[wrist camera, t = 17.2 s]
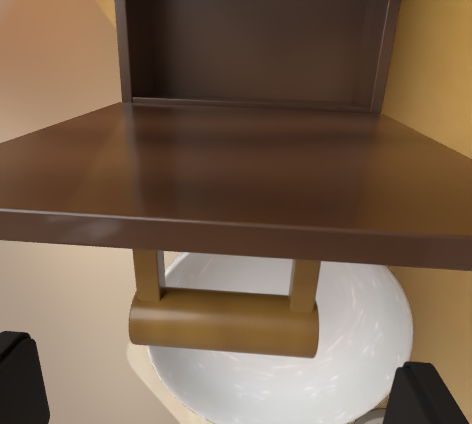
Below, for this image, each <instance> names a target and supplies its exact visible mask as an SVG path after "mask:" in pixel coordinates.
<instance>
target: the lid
mask: <svg viewBox="0 0 472 424" xmlns="http://www.w3.org/2000/svg"><path fill="white" fill-rule="evenodd" d="M0 240H8V241H23V242H37V243H52V244H68V245H83V246H99V247H113V248H128V249H132V250H133V259H134V269H135V278H136V287H137V291H136V293H135V295H134V298H133V301H132V305H131V309H130V315H129V337H130V340H131V342H132V343H133V344H135V345H148V346H160V347H173V348H186V349H198V350H211V351H223V352H236V353H248V354H261V355H273V356H286V357H298V358H311V359H312V358H315V356H316V353H317V349H318V342H319V313H318V306H317V302H316V299H315V298H316V292H317V286H318V279H319V273H320V267H321V261H326V262H341V263H356V264H371V265H386V266H402V267H417V268H432V269H447V270H463V271H472V159H470V158H468V157H466V156H464V155H462V154H460V153H458V152H456V151H454V150H452V149H450V148H449V147H447V146H445V145H443V144H441V143H439V142H437V141H435V140H433V139H431V138H429V137H427V136H425V135H423V134H421V133H419V132H417V131H415V130H413V129H411V128H409V127H407V126H406V125H404V124H402V123H400V122H398V121H396V120H394V119H392V118H390V117H388V116H386V115H384V114H376V113H353V112H330V111H308V110H285V109H262V108H240V107H217V106H194V105H172V104H149V103H126V102H119V103H116V104H113V105H110V106H107V107H104V108H101V109H99V110H96V111H93V112H90V113H87V114H84V115H81V116H78V117H75V118H72V119H70V120H67V121H64V122H61V123H58V124H55V125H52V126H49V127H46V128H43V129H41V130H38V131H35V132H32V133H29V134H26V135H24V136H20V137H17V138H15V139H12V140H9V141H6V142H3V143H0ZM163 251H174V252H189V253H204V254H219V255H234V256H250V257H265V258H280V259H293V261H292V269H291V278H290V286H289V295H277V294H263V293H249V292H235V291H221V290H207V289H193V288H179V287H166V284H165V269H164V252H163Z"/></svg>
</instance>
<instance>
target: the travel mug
mask: <svg viewBox="0 0 472 424" xmlns="http://www.w3.org/2000/svg"><path fill="white" fill-rule="evenodd" d="M385 411H386V409H376V410H372V411H369V412H367V413H366V414H364V415H363V416H361V417H359V418H358V419H357V420H356V421H355V423H354V424H382V423H383V419H384V415H385Z"/></svg>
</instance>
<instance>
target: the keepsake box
mask: <svg viewBox="0 0 472 424" xmlns="http://www.w3.org/2000/svg"><path fill="white" fill-rule="evenodd" d="M400 3H401V0H115V13H116V26H117V39H118V51H119V66H120V78H121V92H122V102H126V103H149V104H172V105H194V106H217V107H240V108H262V109H285V110H308V111H330V112H353V113H376V114H381V109H382V103H383V98H384V92H385V87H386V81H387V75H388V70H389V64H390V59H391V53H392V48H393V42H394V36H395V31H396V25H397V20H398V14H399V8H400Z"/></svg>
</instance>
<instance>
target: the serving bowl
mask: <svg viewBox="0 0 472 424" xmlns="http://www.w3.org/2000/svg"><path fill="white" fill-rule="evenodd" d="M292 261H293V259H280V258H265V257H250V256H234V255H219V254H204V253H189V252H181V253H180V254H179V255H178V256H177V257H176V259H175V260H174V261H173V262H172V263H171V264H170V265H169V267H168V268H167V269H166V270H165V284H166V287H179V288H193V289H207V290H221V291H235V292H249V293H263V294H277V295H289V286H290V278H291V269H292ZM315 299H316V302H317V306H318V313H319V342H318V349H317V353H316V356H315V358H312V359H311V358H298V357H286V356H273V355H261V354H248V353H236V352H223V351H211V350H198V349H186V348H173V347H160V346H148V345H146V347H147V352H148V355H149V358H150V361H151V363H152V365H153V368H154V370H155V371H156V373H157V375H158V377H159V378H160V380H161V381H162V383H163V384H164V386H165V387H166V388H167V389H168V391H169V392H170V393H171V394H172V395H173V396H174V397H175V398H176V399H177V400H178V401H179V402H180V403H182V404H183V405H184V406H185V407H186V408H188V409H189V410H191V411H192V412H194V413H195V414H197V415H199V416H200V417H202V418H204V419H206V420H208V421H209V422H212V423H214V424H348V423H350V422H352V421H354V420H356V419H358V418H359V417H361V416H363V415H364V414H366V413H367V412H369V411H370V410H372V409H373V408H374V407H376V406H377V405H378V404H379V403H380V402H381V401H383V400H384V399H385V397H386V396H387V395H388V394H389V393H390V391H391V388H392V384H393V380H394V376H395V372H396V369H397V368H398V367H403V364H404V363H405V362H406V361H409V359H410V355H411V351H412V346H413V339H414V325H413V317H412V312H411V308H410V305H409V302H408V299H407V297H406V294H405V292H404V290H403V288H402V287H401V285H400V283H399V281H398V280H397V278H396V277H395V275H394V274H393V273H392V272H391V270H390V269H389V268H388V267H387V266H386V265H371V264H356V263H341V262H326V261H321V267H320V273H319V279H318V286H317V292H316V298H315Z"/></svg>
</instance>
